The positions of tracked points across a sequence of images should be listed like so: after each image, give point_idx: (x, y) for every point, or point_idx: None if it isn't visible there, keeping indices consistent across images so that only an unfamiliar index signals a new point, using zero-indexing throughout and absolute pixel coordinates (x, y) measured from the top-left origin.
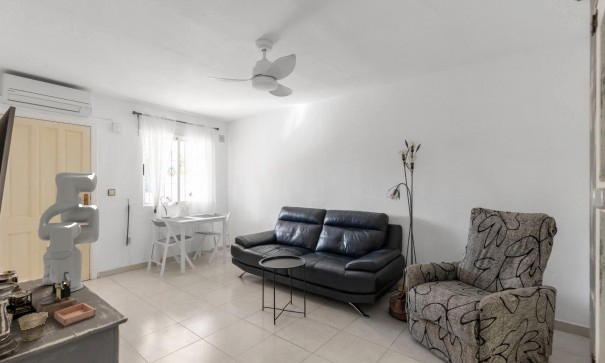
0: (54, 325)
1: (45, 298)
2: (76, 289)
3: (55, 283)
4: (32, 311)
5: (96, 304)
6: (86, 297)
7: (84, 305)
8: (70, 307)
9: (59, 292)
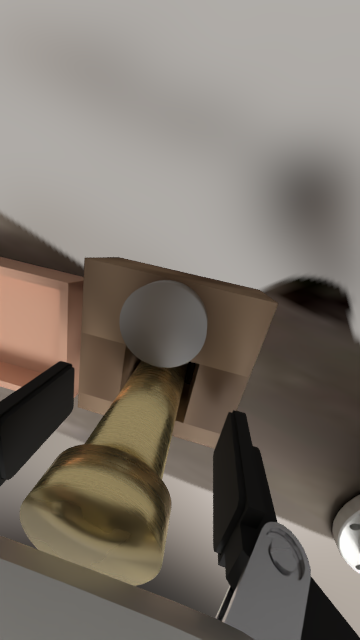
0: (4, 232)
1: (202, 333)
2: (338, 522)
3: (242, 543)
4: (299, 284)
5: (83, 424)
6: (199, 466)
7: None
8: (59, 350)
9: (109, 412)
